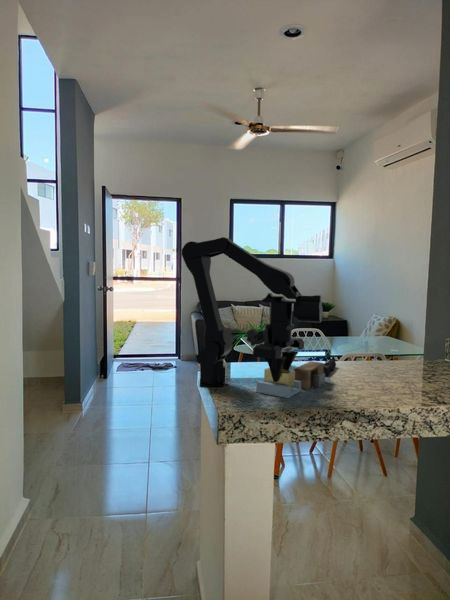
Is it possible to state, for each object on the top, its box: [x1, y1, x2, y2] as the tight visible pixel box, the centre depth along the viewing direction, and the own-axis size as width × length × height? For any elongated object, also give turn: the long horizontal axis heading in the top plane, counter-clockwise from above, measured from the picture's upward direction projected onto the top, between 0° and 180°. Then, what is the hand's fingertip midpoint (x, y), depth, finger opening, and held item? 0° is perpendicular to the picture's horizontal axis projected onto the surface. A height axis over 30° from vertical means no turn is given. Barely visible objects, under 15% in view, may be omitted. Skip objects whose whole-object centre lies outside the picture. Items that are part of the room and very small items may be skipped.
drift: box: [291, 369, 326, 390], centre depth 117 cm, size 9×4×4 cm, turn 51°
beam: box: [293, 360, 325, 391], centre depth 117 cm, size 4×12×5 cm, turn 147°
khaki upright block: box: [263, 367, 295, 386], centre depth 109 cm, size 7×4×4 cm, turn 52°
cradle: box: [255, 380, 302, 399], centre depth 109 cm, size 9×8×3 cm
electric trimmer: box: [323, 358, 337, 378], centre depth 133 cm, size 4×16×3 cm, turn 152°
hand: (279, 380), depth 109 cm, fingers closed on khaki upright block, 4 cm apart
